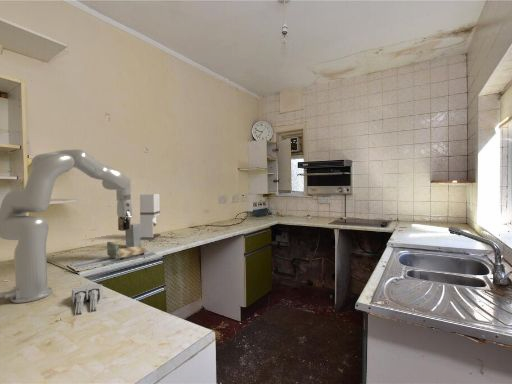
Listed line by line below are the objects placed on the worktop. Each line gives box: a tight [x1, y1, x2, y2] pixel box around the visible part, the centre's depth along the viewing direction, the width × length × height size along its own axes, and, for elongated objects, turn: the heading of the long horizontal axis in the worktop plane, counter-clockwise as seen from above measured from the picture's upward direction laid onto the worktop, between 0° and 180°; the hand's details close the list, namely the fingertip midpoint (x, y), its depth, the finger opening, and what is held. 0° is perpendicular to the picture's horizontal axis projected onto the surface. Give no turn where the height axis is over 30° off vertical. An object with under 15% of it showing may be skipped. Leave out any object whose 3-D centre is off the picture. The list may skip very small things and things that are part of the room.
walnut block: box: [117, 217, 132, 232], centre depth 157 cm, size 5×5×7 cm
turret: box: [71, 283, 103, 316], centre depth 99 cm, size 10×20×5 cm, turn 30°
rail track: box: [68, 250, 157, 269], centre depth 152 cm, size 42×16×1 cm, turn 140°
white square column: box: [139, 193, 161, 241], centre depth 208 cm, size 11×11×35 cm
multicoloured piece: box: [106, 241, 148, 260], centre depth 158 cm, size 18×12×9 cm
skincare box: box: [125, 223, 142, 248], centre depth 182 cm, size 8×7×16 cm
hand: (124, 228), depth 157 cm, fingers closed on walnut block, 5 cm apart
